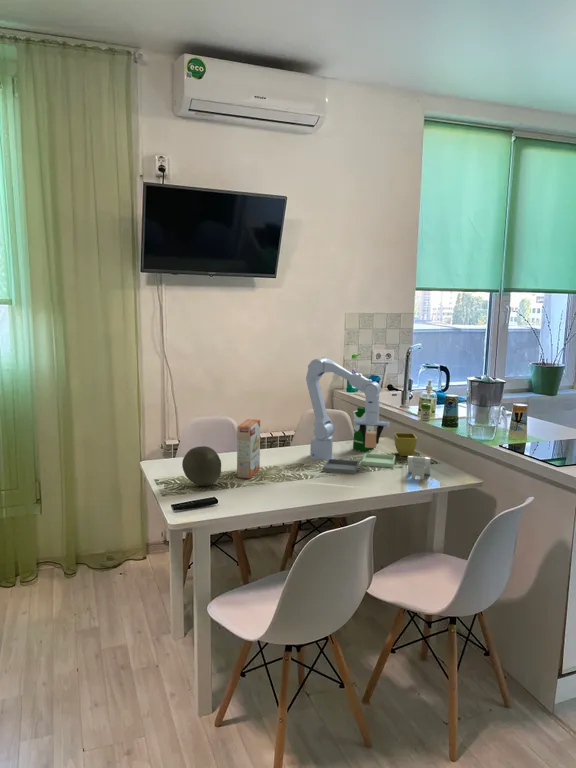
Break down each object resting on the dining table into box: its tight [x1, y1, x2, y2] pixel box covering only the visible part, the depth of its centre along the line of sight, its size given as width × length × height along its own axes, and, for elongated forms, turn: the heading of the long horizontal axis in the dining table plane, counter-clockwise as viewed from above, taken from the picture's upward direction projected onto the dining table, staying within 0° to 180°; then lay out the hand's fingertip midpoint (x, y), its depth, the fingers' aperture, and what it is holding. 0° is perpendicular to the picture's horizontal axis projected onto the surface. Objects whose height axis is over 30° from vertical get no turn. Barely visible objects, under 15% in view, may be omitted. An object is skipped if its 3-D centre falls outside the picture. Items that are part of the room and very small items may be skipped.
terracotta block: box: [365, 430, 378, 449], centre depth 242 cm, size 4×4×6 cm
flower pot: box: [393, 432, 418, 457], centre depth 258 cm, size 9×9×9 cm
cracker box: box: [236, 418, 261, 479], centre depth 230 cm, size 14×6×21 cm, turn 167°
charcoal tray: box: [322, 458, 360, 475], centre depth 237 cm, size 13×13×2 cm
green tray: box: [361, 452, 396, 470], centre depth 246 cm, size 13×13×2 cm
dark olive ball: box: [182, 445, 222, 487], centre depth 215 cm, size 14×14×15 cm
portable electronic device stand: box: [407, 455, 431, 480], centre depth 229 cm, size 9×8×8 cm
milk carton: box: [352, 406, 375, 453], centre depth 266 cm, size 9×9×20 cm
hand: (371, 442), depth 242 cm, fingers closed on terracotta block, 4 cm apart
